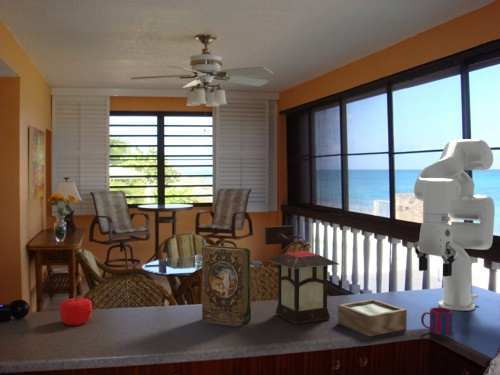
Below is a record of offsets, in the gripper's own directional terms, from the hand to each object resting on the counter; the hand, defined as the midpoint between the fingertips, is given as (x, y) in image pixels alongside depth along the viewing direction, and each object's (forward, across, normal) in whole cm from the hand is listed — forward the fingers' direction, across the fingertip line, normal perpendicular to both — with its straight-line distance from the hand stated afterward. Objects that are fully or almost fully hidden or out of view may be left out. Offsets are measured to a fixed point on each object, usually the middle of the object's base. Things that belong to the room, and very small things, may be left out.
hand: (434, 273), depth 162 cm
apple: (+19, +62, +98) cm, 118 cm away
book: (+19, +40, +54) cm, 70 cm away
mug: (+19, 0, 0) cm, 19 cm away
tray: (+18, +14, +14) cm, 27 cm away
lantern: (+19, +36, +28) cm, 50 cm away
